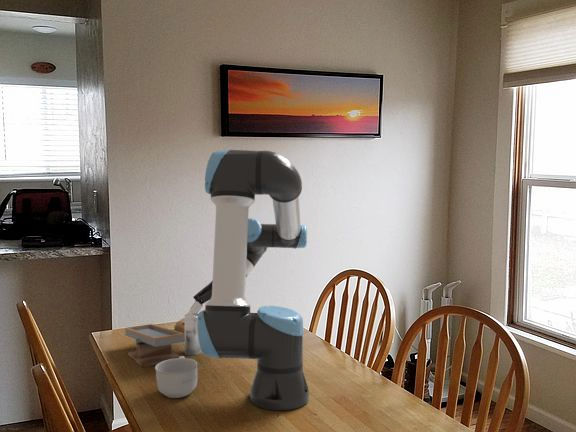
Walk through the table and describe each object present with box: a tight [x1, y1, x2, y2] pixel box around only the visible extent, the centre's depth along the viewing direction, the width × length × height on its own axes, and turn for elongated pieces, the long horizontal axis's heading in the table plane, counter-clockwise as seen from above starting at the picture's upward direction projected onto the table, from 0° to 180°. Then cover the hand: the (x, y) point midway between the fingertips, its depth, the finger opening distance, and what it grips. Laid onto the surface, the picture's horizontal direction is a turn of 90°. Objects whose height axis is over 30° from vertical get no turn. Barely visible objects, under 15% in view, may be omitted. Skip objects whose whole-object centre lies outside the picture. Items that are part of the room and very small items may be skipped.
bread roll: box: [173, 317, 185, 335], centre depth 207 cm, size 10×10×8 cm
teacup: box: [154, 355, 198, 399], centre depth 159 cm, size 14×11×8 cm
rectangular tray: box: [124, 323, 185, 347], centre depth 184 cm, size 26×11×3 cm, turn 34°
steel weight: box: [184, 313, 202, 356], centre depth 189 cm, size 5×5×12 cm
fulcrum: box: [127, 342, 181, 368], centre depth 184 cm, size 12×12×5 cm
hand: (199, 324), depth 191 cm, fingers open, 13 cm apart
